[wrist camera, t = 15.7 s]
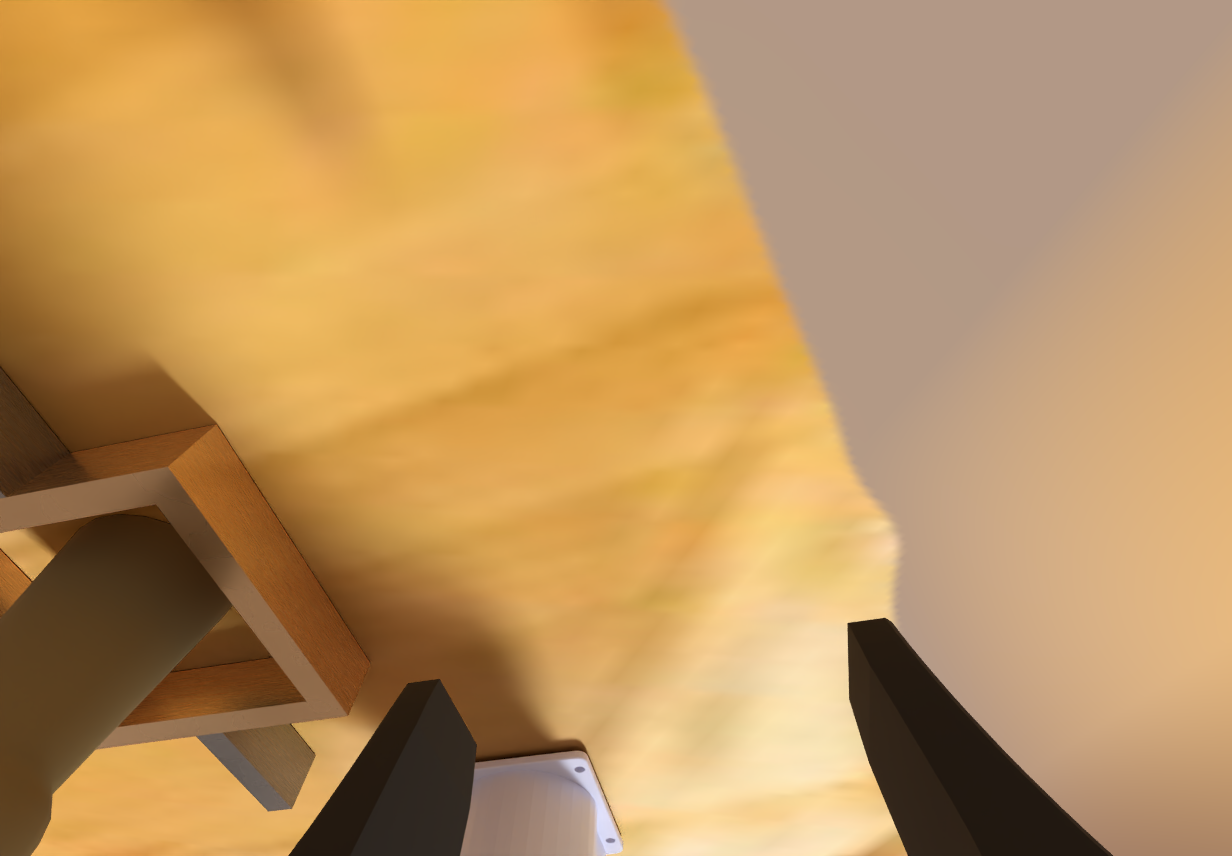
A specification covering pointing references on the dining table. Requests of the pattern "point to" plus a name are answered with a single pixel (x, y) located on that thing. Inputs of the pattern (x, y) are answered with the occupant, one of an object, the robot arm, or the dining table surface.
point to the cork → (90, 655)
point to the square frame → (236, 560)
